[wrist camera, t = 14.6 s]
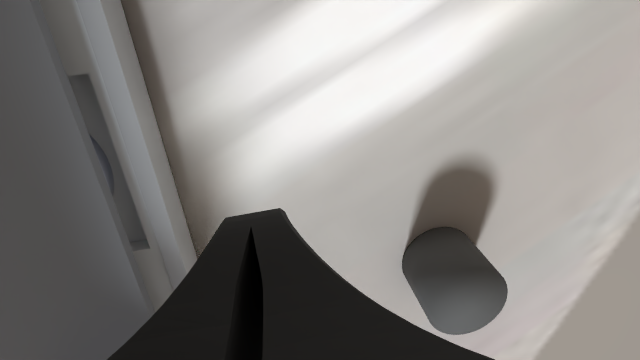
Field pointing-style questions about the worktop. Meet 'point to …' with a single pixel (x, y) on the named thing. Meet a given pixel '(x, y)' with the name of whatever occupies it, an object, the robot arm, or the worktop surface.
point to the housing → (56, 212)
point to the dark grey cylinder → (453, 281)
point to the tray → (125, 135)
